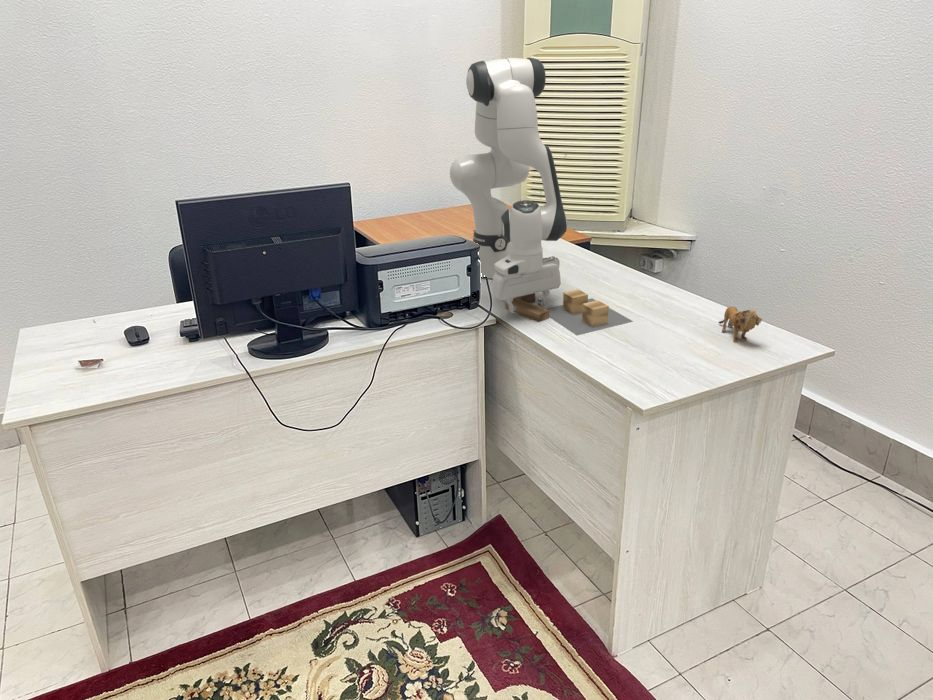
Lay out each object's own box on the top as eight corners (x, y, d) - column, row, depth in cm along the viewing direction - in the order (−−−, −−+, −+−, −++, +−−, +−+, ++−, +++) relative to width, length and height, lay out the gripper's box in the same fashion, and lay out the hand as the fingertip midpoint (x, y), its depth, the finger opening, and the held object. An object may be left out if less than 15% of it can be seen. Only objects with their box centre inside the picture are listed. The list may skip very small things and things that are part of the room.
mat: (539, 311, 195) (539, 310, 195) (592, 299, 201) (592, 298, 201) (576, 336, 179) (576, 335, 178) (633, 322, 185) (633, 321, 185)
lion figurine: (761, 345, 169) (766, 311, 165) (742, 348, 168) (746, 314, 164) (726, 323, 182) (730, 291, 178) (709, 325, 181) (712, 294, 177)
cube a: (563, 308, 195) (563, 292, 193) (578, 305, 197) (578, 289, 195) (572, 314, 191) (572, 297, 189) (587, 310, 193) (588, 294, 191)
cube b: (582, 320, 187) (582, 303, 185) (597, 316, 189) (598, 300, 186) (592, 326, 183) (592, 309, 181) (607, 323, 184) (608, 306, 182)
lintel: (538, 324, 188) (538, 314, 187) (505, 311, 198) (505, 301, 197) (549, 320, 190) (549, 310, 189) (515, 307, 200) (515, 297, 199)
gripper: (553, 252, 193) (553, 297, 199) (488, 264, 186) (490, 311, 192) (565, 257, 188) (564, 304, 194) (499, 271, 181) (500, 319, 187)
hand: (527, 308), depth 193 cm, fingers open, 8 cm apart
